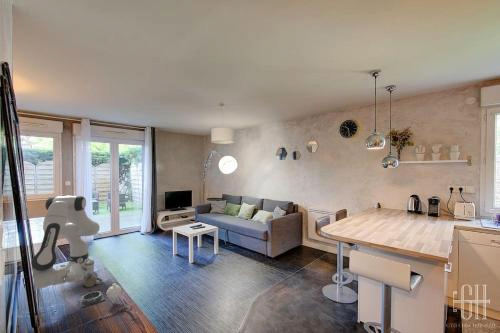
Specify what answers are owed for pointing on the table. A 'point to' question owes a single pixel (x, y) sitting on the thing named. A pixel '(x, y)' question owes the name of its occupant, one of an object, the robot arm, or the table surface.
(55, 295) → the table surface
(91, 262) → the lidded canister
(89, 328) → the table surface
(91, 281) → the ceramic mug
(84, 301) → the duct flange
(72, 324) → the table surface
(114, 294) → the spinning top
